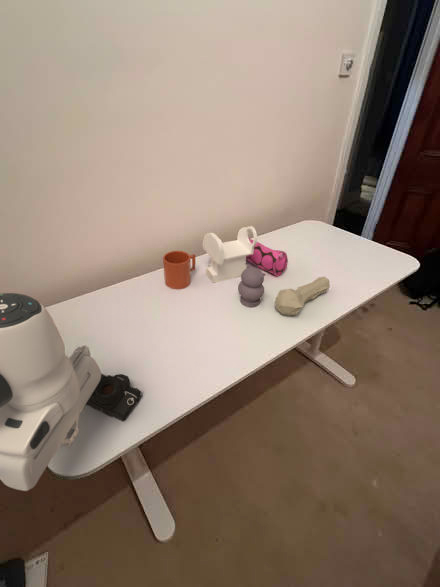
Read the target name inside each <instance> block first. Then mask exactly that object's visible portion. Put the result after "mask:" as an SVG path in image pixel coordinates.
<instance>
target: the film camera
mask: <svg viewBox="0 0 440 587" xmlns="http://www.w3.org/2000/svg"><path fill="white" fill-rule="evenodd" d="M141 397H142V392H141V390H140V389H139V388H137V387H133V386H131V383H130V378H129V376H128V375H125V374H123V373H119V374H118V373H117V374H115V375H110V374H109V375H107V374H105V373H104V374H103V373H101V379H100V382H99V383H98V385H97V387H96V388H95V390H94V391H93V393H92V395H91V396H90V398H89V400H88V401H87V403H86V404H85V406H88V407H90V408H91V409H94V410H95V411H98V412H100V413H102V414H104V415H107V416H108V417H111V418H115V419H117V420H120V421H121V422H124V421H126V419H127V417H128V416H129V414H130V413H131V412H132V410H133V409H134V407H135V406H136V405H137V403H139V402H140V399H141Z"/></svg>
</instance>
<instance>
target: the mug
mask: <svg viewBox="0 0 440 587" xmlns="http://www.w3.org/2000/svg"><path fill="white" fill-rule="evenodd" d="M162 265H163V277H164V278H163V279H164V284H165V286H166V287H167V288H169V289H172V290H182V289H186V288H188V287H189V286H190V285H191V283H192V272H194V271H195V270H196V254H195V253H192V254H190V253H188V252H186V251H183V250H172V251H168V252H166V253H165V254H163V256H162Z"/></svg>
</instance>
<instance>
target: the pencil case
mask: <svg viewBox="0 0 440 587" xmlns="http://www.w3.org/2000/svg"><path fill="white" fill-rule="evenodd" d="M248 238H249V241H250V243H251V244H252V243H253V241H254V239H251V238H250V236H249V235H248ZM236 240H237V238H236ZM288 260H289V259H288V255H287V253H286V252H285V251H283V250H278V249H272V248H270V247H268V246H265V245H264V244H262V243H261V242H259V241H257V243H256V245H255V246H254V252H253V254H251V255H246V261H248V262H249V263H251V264H253V265H255V266H256V267H258V268H259V269H260V270H263V271H265V272H267V273H270V274H272V275H274V276H276V277H279V276H281V275H282V274H283V273H284V272H285V271H286V269H287V267H288V265H289V264H288V262H289V261H288Z"/></svg>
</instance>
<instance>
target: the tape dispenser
mask: <svg viewBox="0 0 440 587" xmlns="http://www.w3.org/2000/svg"><path fill="white" fill-rule="evenodd" d="M249 231H251V233H252V236H253V240H254V241H253V243H252V244H251V243H250V241H249V238H250V237H249V238H248V236H249ZM236 239H237V240H230V241H225V242H223V241H222V240H221V238H220V237H219V236H217V234H216V233H215V232H208V233H205V234H204V236H203V240H202V249H203V250H204V251H205V253H207V255H208V256H209V257H210V264H209V266H206V267H205V275H206V276H207V277H208V279H209V280H210V281H211V282H212V284H214V283H218V282H223V281H227V280H230V279H236V278H239V277H240V278H241V274H242V272H243V271H244V270H245V269H246V267H247V264H246V263H247V260H246V255H251V254H253V252H254V246H255V245H256V243H257V242H258V233H257V231H256V228H255V227H254V226H253V225H249V226H243V227H241V228H240V229H239V230H238V233H237V238H236Z"/></svg>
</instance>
